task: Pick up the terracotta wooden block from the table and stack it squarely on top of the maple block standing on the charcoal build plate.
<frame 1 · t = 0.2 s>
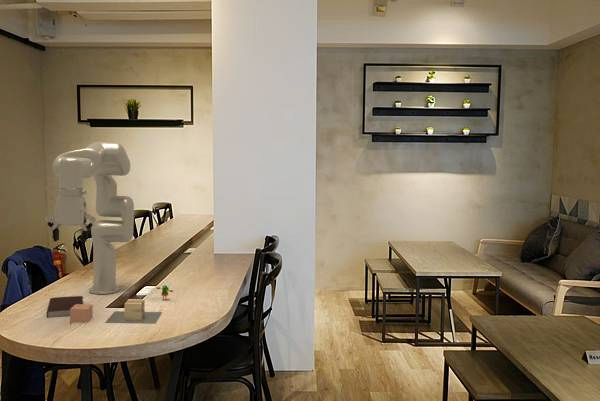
hand: (70, 241, 192), 30 cm above the table, tool pointing down, fingers open, 9 cm apart
terracotta block: (81, 322, 196), on the table
build plate: (134, 319, 201), on the table
toy character: (166, 301, 230), on the table
maple block: (134, 317, 201), point 1 cm above the table, touching build plate
book: (65, 310, 211), on the table
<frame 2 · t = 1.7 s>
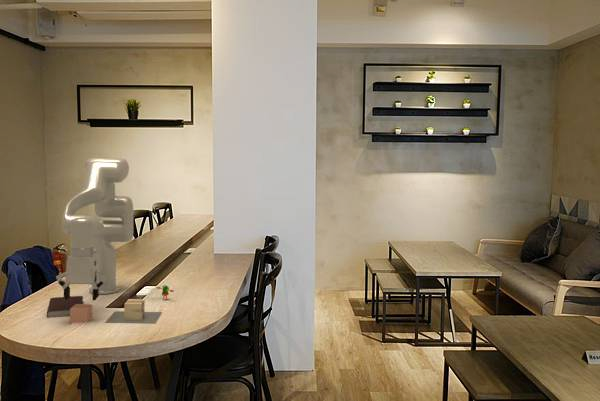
hand: (81, 299, 195), 9 cm above the table, tool pointing down, fingers open, 9 cm apart
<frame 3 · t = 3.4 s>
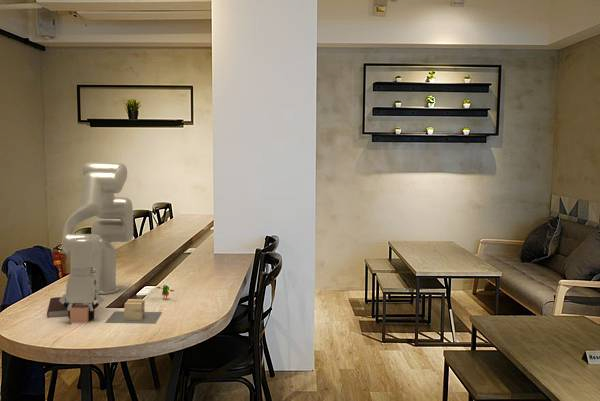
hand: (81, 320, 196), 1 cm above the table, tool pointing down, fingers closed on terracotta block, 6 cm apart
terracotta block: (81, 322, 196), on the table, touching gripper
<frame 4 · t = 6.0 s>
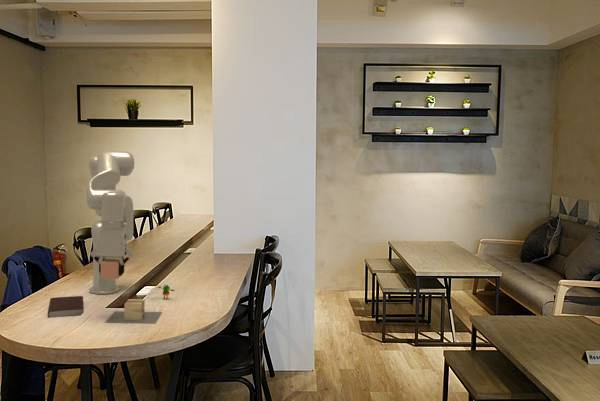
hand: (111, 274, 197), 18 cm above the table, tool pointing down, fingers closed on terracotta block, 6 cm apart
terracotta block: (111, 276, 197), point 17 cm above the table, touching gripper
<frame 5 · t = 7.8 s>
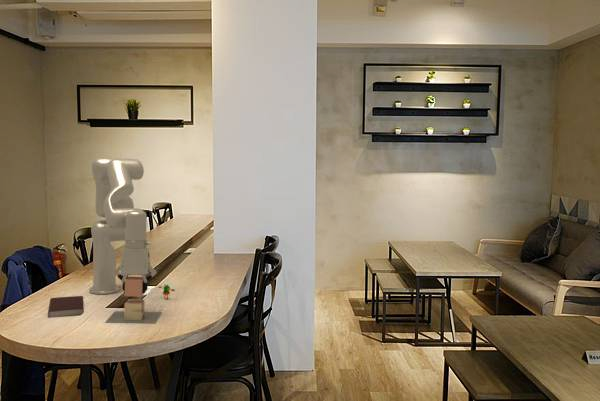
hand: (135, 291, 200), 11 cm above the table, tool pointing down, fingers closed on terracotta block, 6 cm apart
terracotta block: (135, 294, 200), point 10 cm above the table, touching gripper
when the fingers open (9 cm above the table, at t = 9.0 s): terracotta block drops 1 cm, resting on maple block.
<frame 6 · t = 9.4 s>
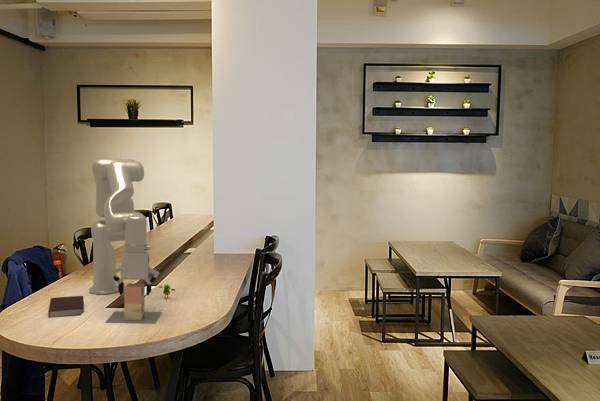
hand: (134, 294, 200), 10 cm above the table, tool pointing down, fingers open, 9 cm apart
terracotta block: (134, 301, 201), point 7 cm above the table, touching maple block
maple block: (134, 317, 201), point 1 cm above the table, touching build plate, terracotta block
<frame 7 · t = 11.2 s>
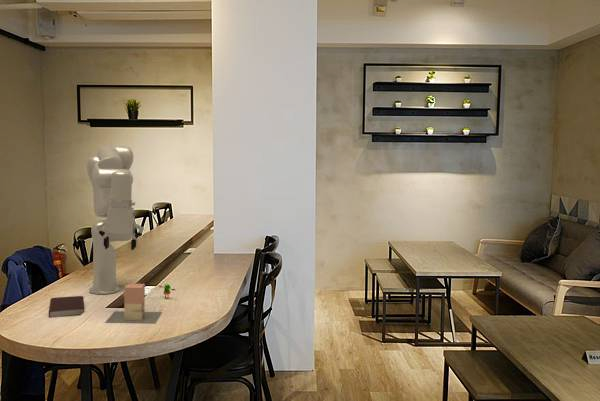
hand: (119, 248, 205), 26 cm above the table, tool pointing down, fingers open, 9 cm apart
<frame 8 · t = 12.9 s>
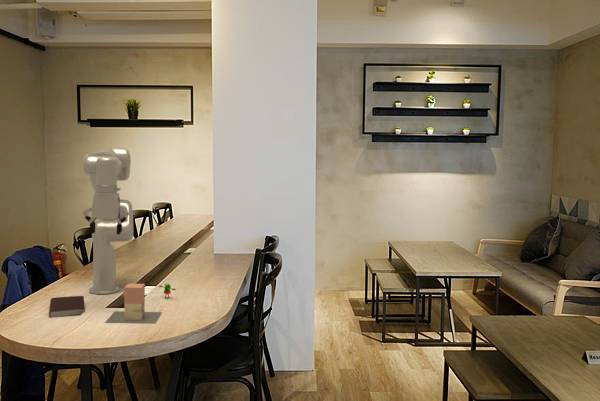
hand: (105, 233, 209), 30 cm above the table, tool pointing down, fingers open, 9 cm apart
at the end: terracotta block 0.1 cm off-centre on the maple block, point 6.0 cm above the maple block's base; terracotta block tilted 0°; maple block moved 0.0 cm from its start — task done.
